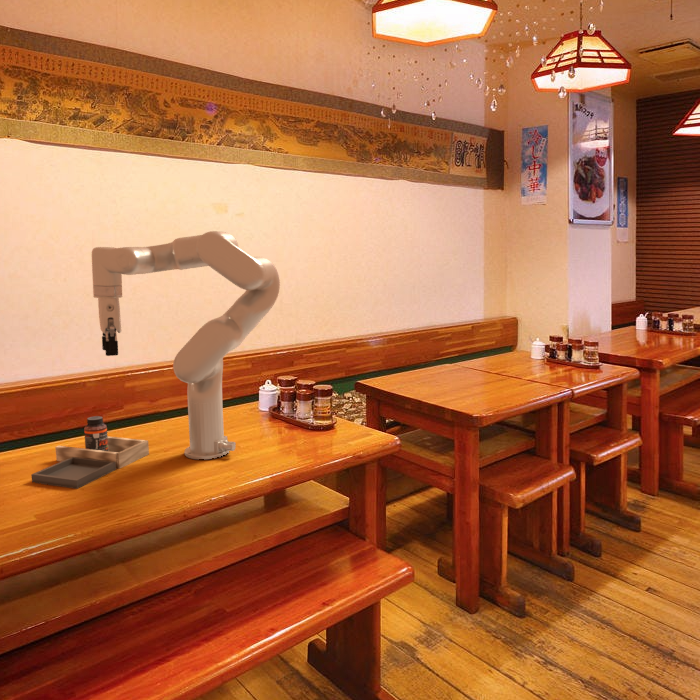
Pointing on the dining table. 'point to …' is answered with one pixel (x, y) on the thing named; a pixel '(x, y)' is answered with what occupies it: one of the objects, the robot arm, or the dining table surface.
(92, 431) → the supplement bottle
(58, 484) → the tray
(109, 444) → the bay
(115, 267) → the robot arm
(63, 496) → the dining table surface
